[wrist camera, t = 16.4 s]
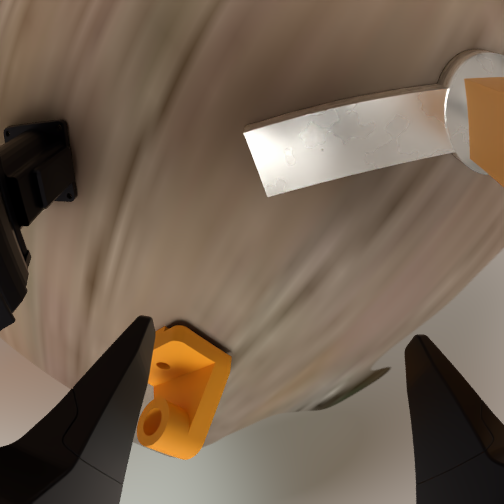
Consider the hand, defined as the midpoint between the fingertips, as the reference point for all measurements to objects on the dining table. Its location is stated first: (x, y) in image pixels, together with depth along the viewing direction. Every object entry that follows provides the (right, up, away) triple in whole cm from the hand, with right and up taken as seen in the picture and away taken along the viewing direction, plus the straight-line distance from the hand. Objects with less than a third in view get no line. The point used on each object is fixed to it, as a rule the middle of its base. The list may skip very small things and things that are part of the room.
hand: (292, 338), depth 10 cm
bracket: (-10, -8, +24) cm, 27 cm away
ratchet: (+9, +11, +7) cm, 16 cm away
